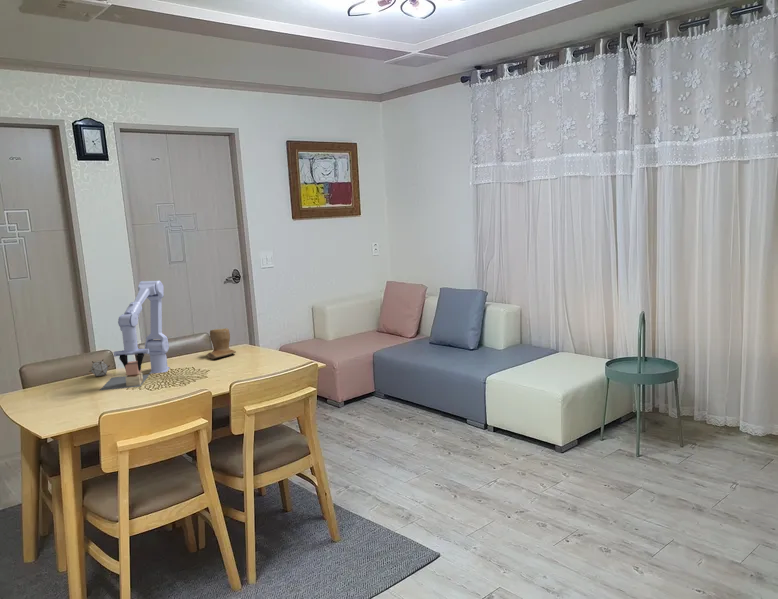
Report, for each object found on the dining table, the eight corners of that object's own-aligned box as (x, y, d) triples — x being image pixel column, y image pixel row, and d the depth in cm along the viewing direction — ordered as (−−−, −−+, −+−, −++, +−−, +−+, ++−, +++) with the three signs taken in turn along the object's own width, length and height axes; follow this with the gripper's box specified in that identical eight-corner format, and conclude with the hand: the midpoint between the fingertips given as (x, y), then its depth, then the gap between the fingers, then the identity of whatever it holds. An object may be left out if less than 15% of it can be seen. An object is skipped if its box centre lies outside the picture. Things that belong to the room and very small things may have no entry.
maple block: (130, 382, 276) (129, 373, 275) (143, 380, 277) (142, 372, 276) (126, 386, 269) (125, 377, 268) (139, 385, 270) (139, 376, 269)
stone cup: (225, 352, 330) (222, 325, 328) (239, 354, 323) (236, 326, 321) (201, 358, 318) (198, 330, 316) (215, 360, 311) (213, 332, 309)
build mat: (111, 378, 286) (111, 377, 286) (150, 374, 289) (149, 374, 289) (99, 391, 264) (99, 390, 264) (140, 387, 268) (140, 386, 267)
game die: (96, 384, 290) (81, 370, 287) (108, 374, 297) (93, 359, 294) (106, 377, 285) (90, 362, 283) (117, 367, 292) (102, 352, 290)
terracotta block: (129, 371, 275) (128, 361, 274) (141, 370, 276) (140, 360, 275) (126, 375, 268) (125, 365, 267) (137, 374, 269) (136, 364, 268)
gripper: (110, 344, 265) (114, 374, 267) (145, 341, 267) (148, 371, 269) (114, 340, 272) (117, 370, 273) (148, 338, 274) (151, 367, 276)
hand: (133, 370), depth 272 cm, fingers closed on terracotta block, 4 cm apart
